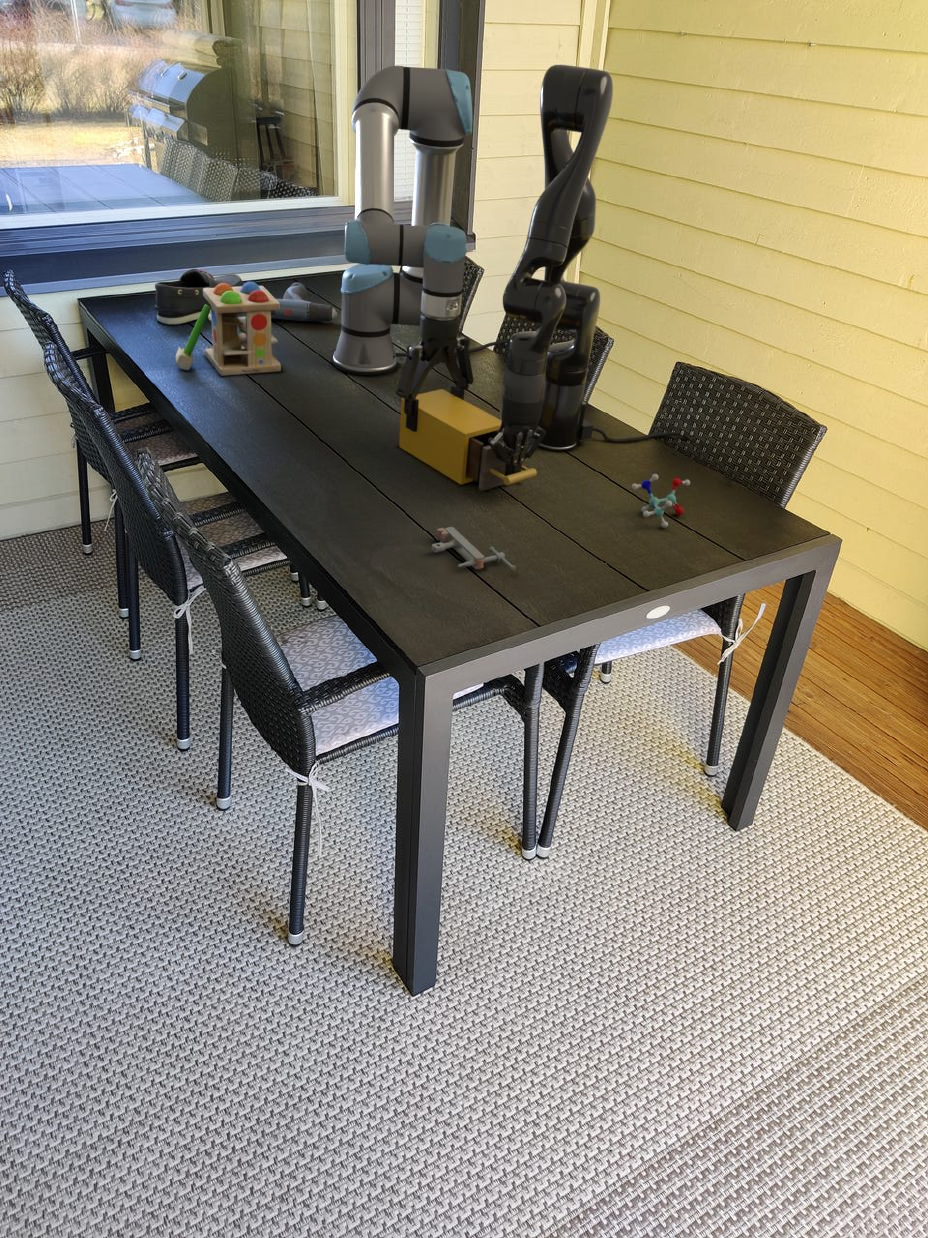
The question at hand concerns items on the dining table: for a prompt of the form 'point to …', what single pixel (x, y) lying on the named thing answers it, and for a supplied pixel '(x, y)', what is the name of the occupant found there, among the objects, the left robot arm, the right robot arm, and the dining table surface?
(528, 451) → the right robot arm
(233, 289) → the pounding bench toy
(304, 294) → the power drill
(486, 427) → the cabinet
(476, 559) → the clamp
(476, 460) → the drawer
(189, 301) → the boat shoe
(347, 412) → the dining table surface
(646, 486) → the molecular model
